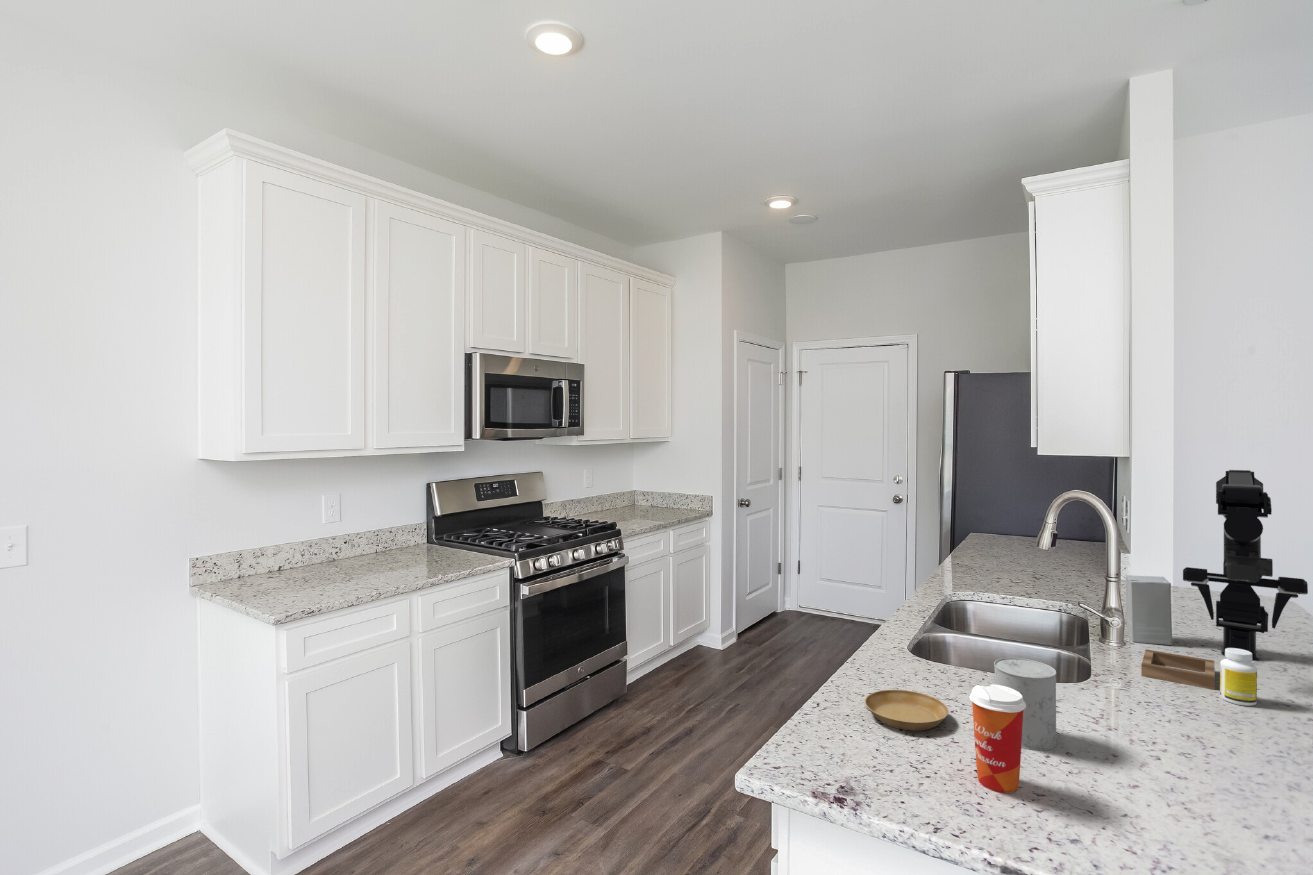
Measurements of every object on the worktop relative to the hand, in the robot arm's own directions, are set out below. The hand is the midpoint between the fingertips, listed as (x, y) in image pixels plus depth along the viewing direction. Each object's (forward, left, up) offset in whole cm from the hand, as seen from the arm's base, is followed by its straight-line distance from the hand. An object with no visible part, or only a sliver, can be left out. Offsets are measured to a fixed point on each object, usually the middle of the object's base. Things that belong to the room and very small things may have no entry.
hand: (1242, 623), depth 132 cm
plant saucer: (+53, -49, -14) cm, 73 cm away
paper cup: (+67, -30, -14) cm, 75 cm away
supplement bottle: (+7, -1, -14) cm, 15 cm away
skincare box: (-26, -17, -14) cm, 34 cm away
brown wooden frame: (-3, -10, -14) cm, 17 cm away
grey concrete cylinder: (+48, -30, -14) cm, 58 cm away
